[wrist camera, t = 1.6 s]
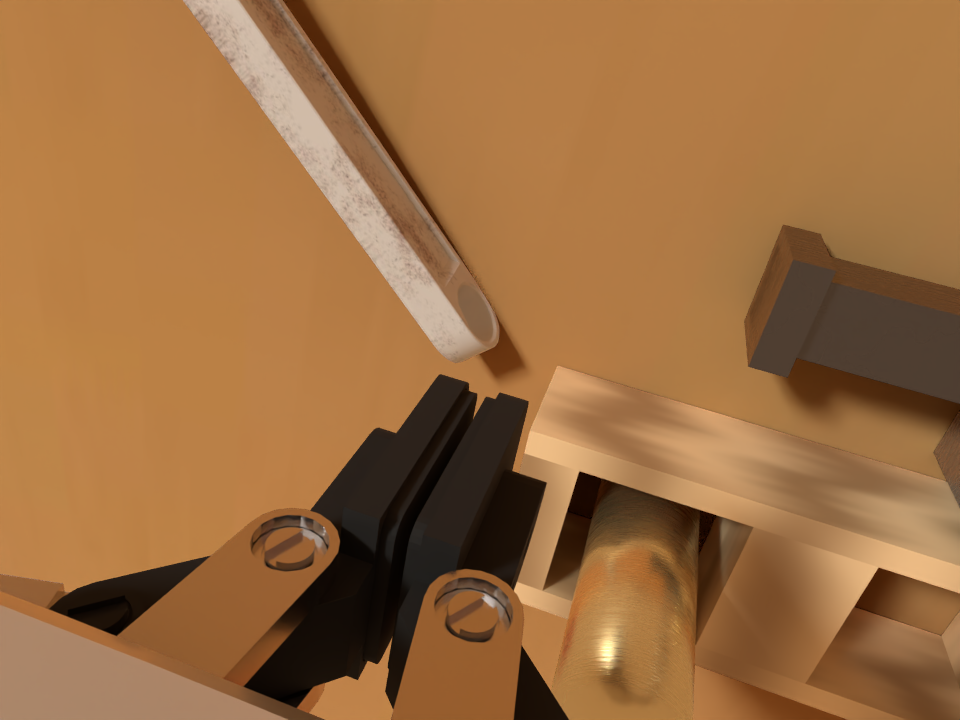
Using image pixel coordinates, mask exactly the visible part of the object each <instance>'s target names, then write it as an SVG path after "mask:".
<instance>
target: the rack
mask: <svg viewBox="0 0 960 720" xmlns="http://www.w3.org/2000/svg"><path fill="white" fill-rule="evenodd" d="M579 471H581V472H584V473H587V474H590V475H593V476H596V477H599V478H603V479H606V480H609V481H612V482H615V483H618V484H621V485H624V486H627V487H631V488H634V489H637V490H640V491H643V492H646V493H649V494H652V495H655V496H659V497H662V498H665V499H668V500H671V501H674V502H677V503H680V504H683V505H686V506H690V507H693V508H696V509H699V510H702V511H705V512H708V513H711V514H714V515H717V516H716V518H715V521H714V523H713V525H712V527H711V529H710V532H709V534H708V536H707V538H706V541H705V543H704V545H703V547H702V549H701V552H700V554H699V555H698V580H697V611H696V641H695V665H696V666H699V667H702V668H705V669H707V670H710V671H713V672H716V673H719V674H721V675H724V676H727V677H730V678H732V679H735V680H738V681H741V682H744V683H746V684H749V685H752V686H755V687H758V688H760V689H763V690H766V691H769V692H772V693H774V694H777V695H780V696H783V697H785V698H788V699H791V700H794V701H797V702H799V703H802V704H805V705H808V706H811V707H813V708H816V709H819V710H822V711H825V712H827V713H830V714H833V715H836V716H839V717H841V718H844V719H847V720H960V611H959V613H958V614H957V615H956V617H955V618H954V619H953V621H952V622H951V623H950V625H949V626H948V627H947V629H946V630H945V632H944V633H943V634H942V636H940V635H937V634H934V633H931V632H928V631H925V630H922V629H919V628H916V627H913V626H910V625H907V624H904V623H901V622H898V621H895V620H892V619H889V618H886V617H883V616H880V615H877V614H874V613H871V612H868V611H865V610H862V609H859V608H856V607H854V606H855V604H856V602H857V601H858V599H859V598H860V596H861V595H862V593H863V591H864V590H865V588H866V587H867V585H868V583H869V582H870V580H871V579H872V577H873V576H874V574H875V572H876V571H877V569H878V568H882V569H885V570H888V571H892V572H895V573H898V574H901V575H904V576H907V577H910V578H913V579H916V580H920V581H923V582H926V583H929V584H932V585H935V586H938V587H941V588H944V589H948V590H951V591H954V592H957V593H960V508H959V505H958V503H957V501H956V499H955V497H954V495H953V493H952V491H951V488H950V486H949V484H948V482H947V481H943V480H940V479H937V478H933V477H930V476H927V475H923V474H920V473H916V472H913V471H910V470H906V469H903V468H900V467H896V466H893V465H890V464H886V463H883V462H880V461H876V460H873V459H869V458H866V457H863V456H859V455H856V454H853V453H849V452H846V451H843V450H839V449H836V448H833V447H829V446H826V445H822V444H819V443H816V442H812V441H809V440H806V439H802V438H799V437H796V436H792V435H789V434H786V433H782V432H779V431H775V430H772V429H769V428H765V427H762V426H759V425H755V424H752V423H749V422H745V421H742V420H739V419H735V418H732V417H729V416H725V415H722V414H718V413H715V412H712V411H708V410H705V409H702V408H698V407H695V406H692V405H688V404H685V403H682V402H678V401H675V400H671V399H668V398H665V397H661V396H658V395H655V394H651V393H648V392H645V391H641V390H638V389H635V388H631V387H628V386H624V385H621V384H618V383H614V382H611V381H608V380H604V379H601V378H598V377H594V376H591V375H588V374H584V373H581V372H577V371H574V370H571V369H567V368H564V367H561V366H557V368H556V371H555V373H554V375H553V378H552V380H551V382H550V385H549V387H548V389H547V392H546V394H545V396H544V399H543V401H542V403H541V406H540V408H539V410H538V413H537V415H536V418H535V420H534V422H533V425H532V427H531V429H530V432H529V436H528V440H527V444H526V448H525V452H524V456H523V460H522V464H521V468H520V472H519V473H520V474H523V475H526V476H529V477H532V478H535V479H538V480H541V481H544V482H547V485H546V489H545V492H544V496H543V500H542V503H541V507H540V510H539V514H538V517H537V521H536V524H535V527H534V531H533V534H532V537H531V541H530V544H529V547H528V550H527V553H526V556H525V559H524V562H523V565H522V568H521V571H520V574H519V577H518V580H517V583H516V586H515V589H514V592H515V593H516V594H517V595H518V597H519V600H520V602H521V603H523V604H526V605H529V606H532V607H534V608H537V609H540V610H543V611H546V612H548V613H551V614H554V615H557V616H560V617H562V618H565V619H568V617H569V613H570V609H571V605H572V600H573V596H574V592H575V588H576V584H577V579H578V575H579V571H580V567H581V563H582V558H583V554H584V550H585V546H586V541H587V537H588V533H589V529H590V525H591V519H588V518H585V517H582V516H579V515H576V514H573V513H570V512H567V509H568V506H569V503H570V499H571V496H572V493H573V490H574V487H575V483H576V480H577V477H578V474H579Z"/></svg>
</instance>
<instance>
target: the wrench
mask: <svg viewBox="0 0 960 720" xmlns="http://www.w3.org/2000/svg"><path fill="white" fill-rule="evenodd" d="M183 1H184V2H185V4H186V5H187V7H188V8H189V9H190V11H191V12H192V13H193V15H194V16H195V18H196V19H197V20H198V22H199V23H200V24H201V26H202V27H203V29H204V30H205V31H206V33H207V34H208V35H209V37H210V38H211V40H212V41H213V42H214V44H215V45H216V46H217V48H218V49H219V51H220V52H221V53H222V55H223V56H224V57H225V59H226V60H227V62H228V63H229V64H230V66H231V67H232V68H233V70H234V71H235V73H236V74H237V75H238V77H239V78H240V79H241V81H242V82H243V84H244V85H245V86H246V88H247V89H248V90H249V92H250V93H251V95H252V96H253V97H254V99H255V100H256V101H257V103H258V104H259V106H260V107H261V108H262V110H263V111H264V112H265V114H266V115H267V117H268V118H269V119H270V121H271V122H272V123H273V125H274V126H275V128H276V129H277V130H278V132H279V133H280V134H281V136H282V137H283V139H284V140H285V141H286V143H287V144H288V145H289V147H290V148H291V150H292V151H293V152H294V154H295V155H296V156H297V158H298V159H299V161H300V162H301V163H302V165H303V166H304V167H305V169H306V170H307V172H308V173H309V174H310V176H311V177H312V178H313V180H314V181H315V183H316V184H317V185H318V187H319V188H320V189H321V191H322V192H323V194H324V195H325V196H326V198H327V199H328V200H329V202H330V203H331V205H332V206H333V207H334V209H335V210H336V211H337V213H338V214H339V216H340V217H341V218H342V220H343V221H344V222H345V224H346V225H347V227H348V228H349V229H350V231H351V232H352V233H353V235H354V236H355V238H356V239H357V240H358V242H359V243H360V244H361V246H362V247H363V249H364V250H365V251H366V253H367V254H368V255H369V257H370V258H371V260H372V261H373V262H374V264H375V265H376V266H377V268H378V269H379V271H380V272H381V273H382V275H383V276H384V277H385V279H386V280H387V282H388V283H389V284H390V286H391V287H392V288H393V290H394V291H395V293H396V294H397V295H398V297H399V298H400V299H401V301H402V302H403V304H404V305H405V306H406V308H407V309H408V310H409V312H410V313H411V315H412V316H413V317H414V319H415V320H416V321H417V323H418V324H419V326H420V327H421V328H422V330H423V331H424V332H425V334H426V335H427V336H428V338H429V339H430V341H431V342H432V344H433V345H434V346H435V347H436V349H437V350H438V351H439V352H440V353H441V354H442V355H443V356H444V357H446V358H447V359H448V360H450V361H452V362H454V363H459V362H463V361H465V360H467V359H469V358H472V357H474V356H476V355H478V354H480V353H483V352H485V351H487V350H489V349H491V348H494V347H495V346H496V345H497V343H498V341H499V324H498V320H497V317H496V314H495V312H494V311H493V309H492V307H491V306H490V304H489V302H488V301H487V299H486V297H485V296H484V294H483V292H482V291H481V289H480V288H479V286H478V284H477V283H476V281H475V279H474V278H473V276H472V275H471V274H470V272H469V271H468V269H467V268H466V266H465V265H464V263H463V262H462V260H461V259H460V257H459V256H458V254H457V253H456V252H455V250H454V249H453V247H452V246H451V244H450V243H449V242H448V240H447V239H446V237H445V236H444V234H443V233H442V231H441V230H440V229H439V227H438V226H437V224H436V223H435V221H434V220H433V218H432V217H431V216H430V214H429V213H428V211H427V210H426V208H425V207H424V206H423V204H422V203H421V201H420V200H419V198H418V197H417V195H416V194H415V193H414V191H413V190H412V188H411V187H410V185H409V184H408V182H407V181H406V179H405V178H404V176H403V175H402V174H401V172H400V171H399V169H398V168H397V166H396V165H395V163H394V162H393V160H392V159H391V157H390V156H389V155H388V153H387V152H386V150H385V149H384V147H383V146H382V144H381V143H380V141H379V140H378V138H377V137H376V135H375V134H374V133H373V131H372V130H371V128H370V127H369V125H368V124H367V122H366V121H365V119H364V118H363V116H362V115H361V113H360V112H359V111H358V109H357V108H356V106H355V105H354V103H353V102H352V100H351V99H350V97H349V96H348V94H347V93H346V91H345V90H344V89H343V87H342V86H341V84H340V83H339V81H338V80H337V78H336V77H335V75H334V74H333V73H332V71H331V70H330V68H329V67H328V65H327V64H326V62H325V61H324V59H323V58H322V57H321V55H320V54H319V52H318V51H317V49H316V48H315V46H314V45H313V43H312V42H311V41H310V39H309V38H308V36H307V35H306V33H305V32H304V30H303V29H302V27H301V26H300V25H299V23H298V22H297V20H296V19H295V17H294V16H293V14H292V13H291V11H290V10H289V9H288V7H287V6H286V4H285V3H284V1H283V0H183Z"/></svg>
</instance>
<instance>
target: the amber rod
mask: <svg viewBox="0 0 960 720" xmlns="http://www.w3.org/2000/svg"><path fill="white" fill-rule="evenodd" d="M699 519H700V510H699V509H696V508H693V507H690V506H686V505H683V504H680V503H677V502H674V501H671V500H668V499H665V498H662V497H659V496H655V495H652V494H649V493H646V492H643V491H640V490H637V489H634V488H631V487H627V486H624V485H621V484H618V483H615V482H612V481H609V480H606V479H603V478H601V482H600V487H599V491H598V495H597V499H596V503H595V508H594V512H593V516H592V520H591V525H590V529H589V533H588V537H587V541H586V546H585V550H584V554H583V558H582V563H581V567H580V571H579V575H578V579H577V584H576V588H575V592H574V596H573V600H572V605H571V609H570V613H569V617H568V622H567V626H566V630H565V634H564V638H563V643H562V647H561V651H560V655H559V660H558V664H557V668H556V672H555V676H554V681H553V685H552V689H551V692H552V694H553V695H554V697H555V698H556V700H557V701H558V703H559V705H560V706H561V708H562V709H563V711H564V712H565V714H566V715H567V717H568V719H569V720H693V702H694V672H695V641H696V611H697V580H698V550H699Z"/></svg>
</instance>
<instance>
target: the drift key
mask: <svg viewBox="0 0 960 720" xmlns="http://www.w3.org/2000/svg"><path fill="white" fill-rule="evenodd" d="M744 323H745V335H746V346H747V358H748V367H751V368H755V369H758V370H762V371H765V372H769V373H772V374H776V375H779V376H783V377H787V378H788V375H789V373H790V371H791V369H792V367H793V365H794V362H795V360H796V358H798V359H802V360H805V361H809V362H813V363H816V364H820V365H823V366H827V367H830V368H834V369H838V370H841V371H845V372H848V373H852V374H855V375H859V376H863V377H866V378H870V379H873V380H877V381H880V382H884V383H888V384H891V385H895V386H898V387H902V388H905V389H909V390H913V391H916V392H920V393H923V394H927V395H930V396H934V397H938V398H941V399H945V400H948V401H952V402H955V403H959V404H960V290H959V289H955V288H951V287H947V286H943V285H939V284H936V283H932V282H928V281H924V280H920V279H916V278H912V277H908V276H904V275H900V274H896V273H892V272H888V271H885V270H881V269H877V268H873V267H869V266H865V265H861V264H857V263H853V262H849V261H845V260H841V259H837V258H834V257H830V255H829V253H828V250H827V248H826V246H825V243H824V241H823V239H822V236H821V234H818V233H814V232H810V231H806V230H802V229H798V228H794V227H790V226H786V225H783V226H782V229H781V231H780V234H779V236H778V239H777V241H776V244H775V246H774V249H773V251H772V254H771V256H770V259H769V261H768V264H767V266H766V269H765V271H764V274H763V276H762V278H761V281H760V283H759V286H758V288H757V291H756V293H755V296H754V298H753V301H752V303H751V306H750V308H749V311H748V313H747V316H746V318H745V321H744Z"/></svg>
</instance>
